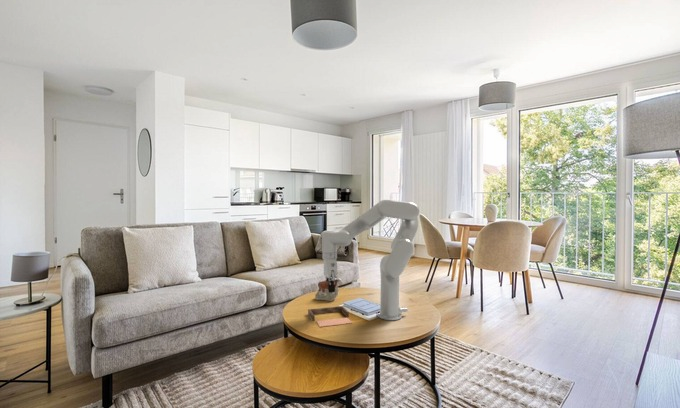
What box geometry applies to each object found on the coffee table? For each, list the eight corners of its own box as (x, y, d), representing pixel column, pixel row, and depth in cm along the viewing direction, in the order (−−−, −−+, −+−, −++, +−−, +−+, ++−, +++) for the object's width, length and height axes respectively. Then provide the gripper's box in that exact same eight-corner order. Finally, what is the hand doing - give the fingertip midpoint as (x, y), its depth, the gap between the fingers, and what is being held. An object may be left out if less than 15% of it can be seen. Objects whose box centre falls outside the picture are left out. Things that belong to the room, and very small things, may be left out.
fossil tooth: (316, 299, 196) (340, 298, 194) (314, 302, 190) (339, 301, 188) (315, 280, 197) (339, 279, 195) (313, 282, 191) (337, 281, 189)
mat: (347, 318, 162) (347, 317, 162) (351, 323, 156) (351, 322, 156) (316, 321, 157) (316, 321, 157) (319, 327, 151) (319, 326, 151)
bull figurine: (344, 293, 165) (343, 278, 165) (319, 297, 160) (318, 280, 160) (340, 291, 169) (340, 276, 169) (316, 294, 164) (316, 278, 164)
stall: (342, 310, 174) (342, 305, 174) (348, 316, 164) (348, 312, 164) (308, 314, 168) (308, 309, 168) (312, 321, 158) (312, 316, 158)
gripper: (341, 257, 158) (342, 294, 158) (331, 252, 174) (332, 286, 174) (327, 258, 155) (327, 296, 156) (318, 253, 171) (319, 287, 172)
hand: (330, 290), depth 165 cm, fingers closed on bull figurine, 4 cm apart
